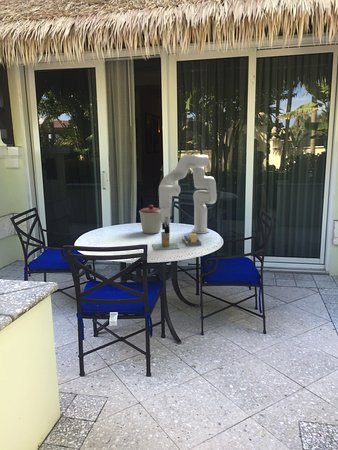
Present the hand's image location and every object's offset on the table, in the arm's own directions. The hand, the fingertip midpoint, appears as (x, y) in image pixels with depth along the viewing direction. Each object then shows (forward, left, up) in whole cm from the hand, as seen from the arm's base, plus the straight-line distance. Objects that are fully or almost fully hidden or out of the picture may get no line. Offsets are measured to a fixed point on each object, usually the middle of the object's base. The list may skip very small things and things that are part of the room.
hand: (165, 231), depth 232 cm
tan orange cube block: (-2, +19, -8) cm, 21 cm away
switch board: (-7, +19, -10) cm, 22 cm away
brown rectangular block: (0, 0, -10) cm, 10 cm away
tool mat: (0, 0, -10) cm, 10 cm away
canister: (-42, -4, -11) cm, 43 cm away
